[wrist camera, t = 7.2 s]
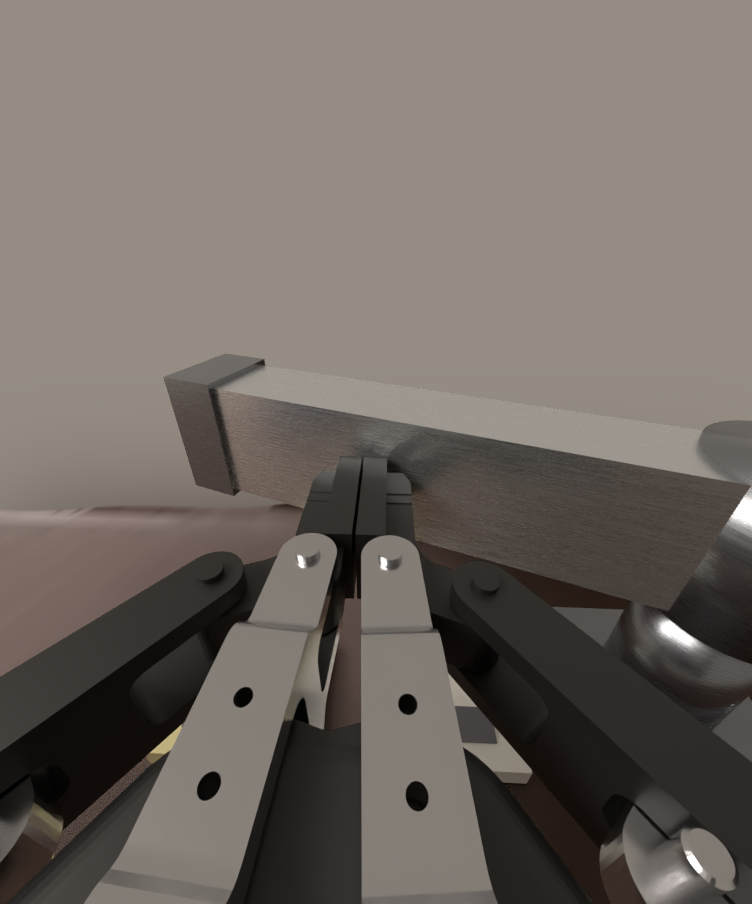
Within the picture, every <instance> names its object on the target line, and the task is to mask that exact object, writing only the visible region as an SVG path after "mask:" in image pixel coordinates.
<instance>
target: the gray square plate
mask: <svg viewBox="0 0 752 904" xmlns="http://www.w3.org/2000/svg"><path fill="white" fill-rule="evenodd" d="M553 608H554V609H555V610H556V611H558V612H559V613H560V614H562V615H563V616H564V617H565V618H567V619H568V620H569V621H571V622H572V623H573V624H574V625H576V626H577V627H578V628H580V629H581V630H582V631H583V632H585V633H586V634H587V635H589V636H590V637H591V638H593V639H594V640H595V641H596V642H598V643H599V644H600V645H602V646H603V647H604V648H605V649H607V650H608V651H609V652H611V653H612V654H613V655H614V656H616V657H617V658H618V659H620V660H621V661H622V662H623V663H625V664H626V665H627V666H629V667H630V668H631V669H632V670H634V671H635V672H636V673H638V674H639V675H640V676H642V677H643V678H644V679H645V680H647V681H648V682H649V683H651V684H652V685H653V686H654V687H656V688H657V689H658V690H660V691H661V692H662V693H663V694H665V695H666V696H667V697H669V698H670V699H671V700H672V701H674V702H675V703H676V704H678V705H679V706H680V707H681V708H683V709H684V710H685V711H687V712H688V713H689V714H691V715H692V716H693V717H694V718H696V719H697V720H698V721H700V722H701V723H702V724H703V725H705V726H706V727H707V728H709V729H710V730H711V731H712V732H714V733H715V734H716V735H718V736H719V737H720V738H721V739H723V740H724V741H725V742H727V743H728V744H729V745H730V746H732V747H733V748H734V749H736V750H737V751H738V752H740V753H741V754H742V755H743V756H745V757H746V758H747V759H749V760H750V761H751V762H752V701H751V699H750V698H749V697H748V696H749V695H750V694H751V693H752V664H749V663H746V662H743V661H740V660H737V659H735V658H733V657H730V656H728V655H726V654H723V653H721V652H719V651H717V650H715V649H713V648H711V647H709V646H708V645H706V644H704V643H702V642H701V641H699V640H697V639H696V638H694V637H693V636H691V635H690V634H688V633H687V632H685V631H684V630H682V629H681V628H680V627H678V626H677V625H676V624H674V623H673V622H672V621H671V620H670V619H668V618H667V617H666V616H665V615H664V614H663V613H662V612H661V611H660V610H659V609H658V608H655V607H651V606H648V605H644V604H640V603H637V602H633V601H630V600H629V602H628V604H627V605H626V607H625V609H624V610H621V609H595V608H570V607H553Z"/></svg>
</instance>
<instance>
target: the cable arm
mask: <svg viewBox="0 0 752 904" xmlns="http://www.w3.org/2000/svg"><path fill="white" fill-rule="evenodd" d="M164 381H165V384H166V387H167V390H168V394H169V397H170V400H171V404H172V407H173V410H174V413H175V417H176V419H177V423H178V426H179V430H180V433H181V436H182V439H183V443H184V446H185V450H186V452H187V456H188V459H189V463H190V466H191V469H192V473H193V476H194V479H195V482H196V485H198V486H201V487H205V488H208V489H212V490H215V491H219V492H222V493H225V494H229V495H233V496H234V495H236V494H237V493H238V492H239V491H244V492H248V493H251V494H255V495H258V496H262V497H265V498H269V499H273V500H276V501H280V502H283V503H286V504H290V505H294V506H297V507H301V508H304V507H305V504H306V503H307V498H308V494H309V493H310V488H311V485H312V482H313V480H314V479H315V478H316V477H317V476H318V475H319V474H320V473H321V472H322V471H336V468H337V464H338V460H339V456H362V458H363V467H364V458H365V457H387V473H404V474H405V476H406V477H407V478H408V480H409V481H410V482H411V492H412V506H413V518H414V530H415V540H417V541H421V542H425V543H428V544H432V545H435V546H439V547H442V548H446V549H449V550H453V551H456V552H460V553H463V554H467V555H471V556H474V557H478V558H481V559H485V560H488V561H492V562H495V563H499V564H502V565H506V566H510V567H513V568H517V569H520V570H524V571H527V572H531V573H534V574H538V575H541V576H545V577H548V578H552V579H556V580H559V581H563V582H566V583H570V584H573V585H577V586H580V587H584V588H587V589H591V590H594V591H598V592H602V593H605V594H609V595H612V596H616V597H619V598H623V599H626V600H630V601H633V602H637V603H640V604H644V605H648V606H651V607H655V608H658V609H659V610H660V611H661V612H662V613H663V614H664V615H665V616H666V617H667V618H668V619H670V620H671V621H672V622H673V623H674V624H676V625H677V626H678V627H680V628H681V629H682V630H684V631H685V632H687V633H688V634H690V635H691V636H693V637H694V638H696V639H697V640H699V641H701V642H702V643H704V644H706V645H708V646H709V647H711V648H713V649H715V650H717V651H719V652H721V653H723V654H726V655H728V656H730V657H733V658H735V659H737V660H740V661H743V662H746V663H749V664H752V421H723V422H718V423H714V424H711V425H709V426H707V427H706V428H705V429H704V430H697V429H690V428H684V427H677V426H670V425H662V424H657V423H649V422H643V421H636V420H629V419H623V418H616V417H608V416H602V415H596V414H589V413H582V412H575V411H568V410H562V409H555V408H548V407H541V406H534V405H528V404H520V403H514V402H507V401H500V400H493V399H487V398H480V397H473V396H466V395H460V394H453V393H446V392H440V391H432V390H425V389H419V388H412V387H406V386H398V385H392V384H385V383H378V382H371V381H365V380H358V379H351V378H345V377H338V376H331V375H324V374H317V373H310V372H303V371H296V370H290V369H284V368H277V367H270V366H265V361H264V359H259V358H252V357H245V356H237V355H231V354H224V355H221V356H218V357H215V358H213V359H210V360H208V361H205V362H202V363H200V364H197V365H194V366H192V367H189V368H187V369H184V370H181V371H178V372H176V373H173V374H171V375H168V376H165V377H164Z"/></svg>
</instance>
